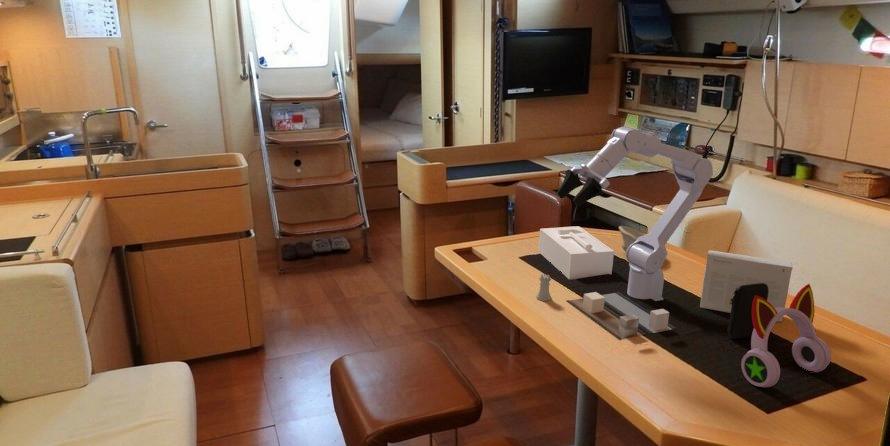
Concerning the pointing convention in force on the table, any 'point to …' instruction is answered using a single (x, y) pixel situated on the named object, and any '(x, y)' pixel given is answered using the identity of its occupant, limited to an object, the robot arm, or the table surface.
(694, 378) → the table surface
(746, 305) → the carrying case or bag
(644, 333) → the lane rails
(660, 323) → the strip
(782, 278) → the skincare box
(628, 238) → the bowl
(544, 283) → the rook chess piece
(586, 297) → the cube
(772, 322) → the headphones
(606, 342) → the table surface
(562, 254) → the white rectangular block
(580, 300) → the strip
